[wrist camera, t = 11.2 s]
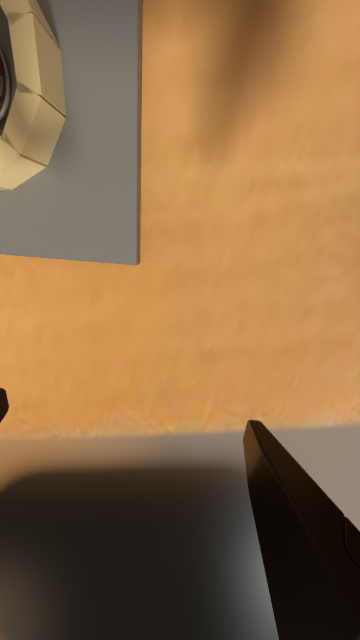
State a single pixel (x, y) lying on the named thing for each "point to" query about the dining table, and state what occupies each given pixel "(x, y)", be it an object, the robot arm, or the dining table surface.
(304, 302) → the dining table surface
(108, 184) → the grey board with ring
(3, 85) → the supplement bottle
